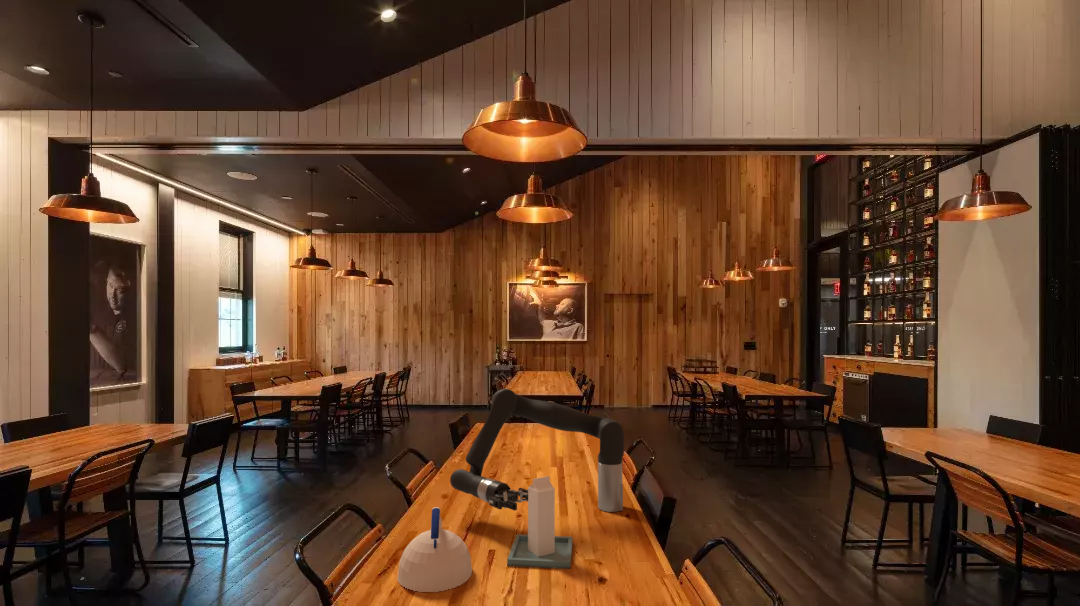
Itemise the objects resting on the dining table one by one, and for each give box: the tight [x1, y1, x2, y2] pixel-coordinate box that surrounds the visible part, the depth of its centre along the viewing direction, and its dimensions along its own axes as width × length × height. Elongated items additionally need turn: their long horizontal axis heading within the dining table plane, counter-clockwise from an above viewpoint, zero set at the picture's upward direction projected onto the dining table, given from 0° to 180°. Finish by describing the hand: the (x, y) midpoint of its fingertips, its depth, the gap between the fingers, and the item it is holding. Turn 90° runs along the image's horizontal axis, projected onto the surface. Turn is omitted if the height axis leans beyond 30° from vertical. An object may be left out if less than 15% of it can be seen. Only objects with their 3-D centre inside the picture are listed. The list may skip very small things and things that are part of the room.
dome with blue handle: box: [397, 506, 473, 593], centre depth 142 cm, size 20×21×18 cm
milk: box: [527, 475, 556, 557], centre depth 156 cm, size 6×6×22 cm
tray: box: [506, 534, 574, 570], centre depth 155 cm, size 18×18×2 cm
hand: (526, 503), depth 161 cm, fingers open, 8 cm apart
